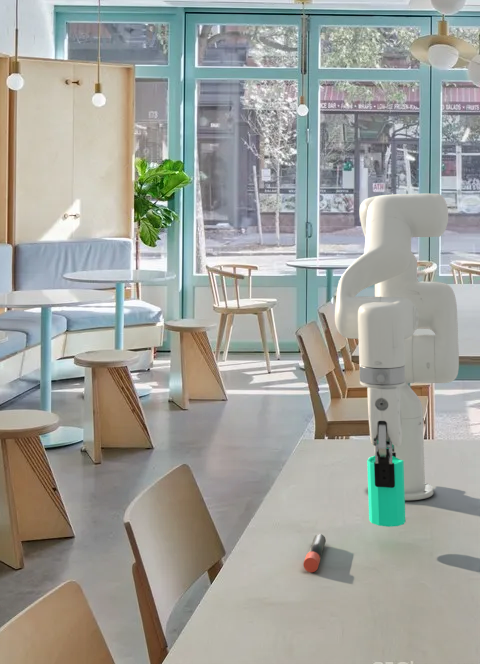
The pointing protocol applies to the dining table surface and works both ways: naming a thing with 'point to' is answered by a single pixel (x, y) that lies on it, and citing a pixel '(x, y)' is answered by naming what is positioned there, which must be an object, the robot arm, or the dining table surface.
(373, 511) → the candle
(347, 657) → the dining table surface
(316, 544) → the marker
